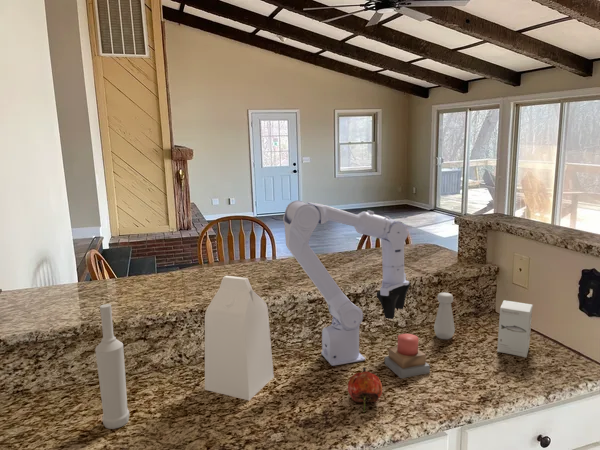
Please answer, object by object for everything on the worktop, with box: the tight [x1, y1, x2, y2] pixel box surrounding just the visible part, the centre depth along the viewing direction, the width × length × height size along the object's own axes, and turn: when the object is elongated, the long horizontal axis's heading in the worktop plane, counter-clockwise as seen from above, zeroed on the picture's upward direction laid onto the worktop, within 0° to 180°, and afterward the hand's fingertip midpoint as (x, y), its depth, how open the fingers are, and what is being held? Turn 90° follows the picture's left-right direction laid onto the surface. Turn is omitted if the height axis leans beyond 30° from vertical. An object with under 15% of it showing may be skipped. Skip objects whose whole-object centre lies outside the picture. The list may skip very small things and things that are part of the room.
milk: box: [204, 275, 275, 401], centre depth 107 cm, size 12×12×26 cm
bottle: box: [94, 303, 130, 430], centre depth 92 cm, size 5×5×25 cm
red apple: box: [347, 366, 384, 413], centre depth 99 cm, size 7×7×10 cm
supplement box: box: [496, 299, 534, 358], centre depth 122 cm, size 7×7×13 cm
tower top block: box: [388, 346, 427, 369], centre depth 114 cm, size 6×6×2 cm
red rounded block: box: [396, 333, 419, 356], centre depth 114 cm, size 5×5×4 cm
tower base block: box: [384, 355, 431, 379], centre depth 114 cm, size 8×8×2 cm
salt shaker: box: [433, 291, 456, 340], centre depth 132 cm, size 6×6×13 cm
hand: (394, 313), depth 123 cm, fingers open, 7 cm apart
